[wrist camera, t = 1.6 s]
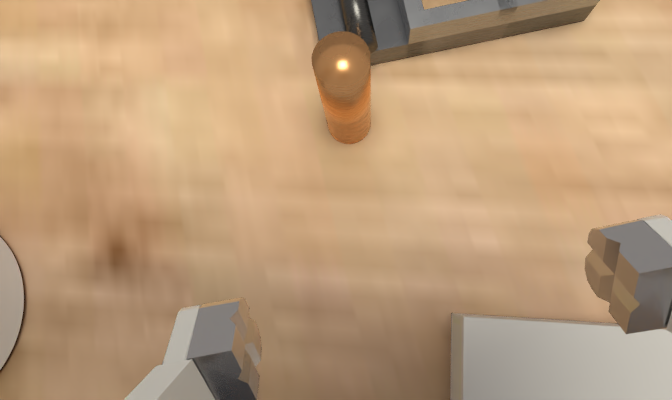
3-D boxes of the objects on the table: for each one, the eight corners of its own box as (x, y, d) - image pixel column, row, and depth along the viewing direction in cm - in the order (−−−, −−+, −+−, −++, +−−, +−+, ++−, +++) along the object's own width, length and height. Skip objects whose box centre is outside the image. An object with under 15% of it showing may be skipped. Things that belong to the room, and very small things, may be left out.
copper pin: (332, 147, 35) (317, 90, 25) (324, 108, 35) (307, 37, 26) (374, 139, 35) (375, 78, 25) (365, 99, 35) (364, 25, 25)
